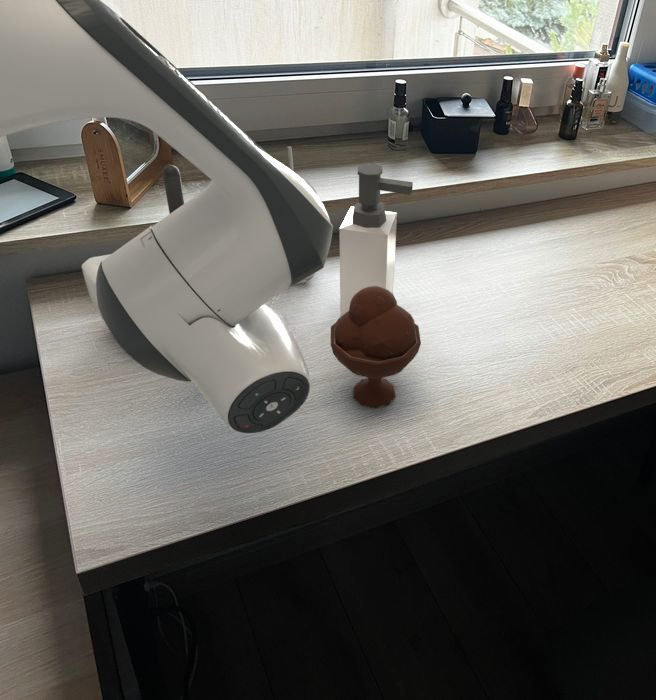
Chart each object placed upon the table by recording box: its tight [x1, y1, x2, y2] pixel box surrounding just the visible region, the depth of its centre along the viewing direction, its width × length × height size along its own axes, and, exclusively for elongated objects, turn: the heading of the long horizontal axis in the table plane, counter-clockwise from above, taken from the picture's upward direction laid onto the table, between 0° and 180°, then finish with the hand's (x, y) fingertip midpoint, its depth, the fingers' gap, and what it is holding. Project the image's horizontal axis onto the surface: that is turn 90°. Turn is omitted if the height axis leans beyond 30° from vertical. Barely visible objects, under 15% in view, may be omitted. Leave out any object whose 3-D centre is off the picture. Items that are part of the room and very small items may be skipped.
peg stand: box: [162, 164, 186, 215], centre depth 77 cm, size 6×6×18 cm
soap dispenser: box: [339, 162, 414, 317], centre depth 100 cm, size 6×9×22 cm
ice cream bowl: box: [330, 286, 422, 409], centre depth 88 cm, size 11×11×15 cm
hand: (179, 232), depth 77 cm, fingers closed on peg stand
